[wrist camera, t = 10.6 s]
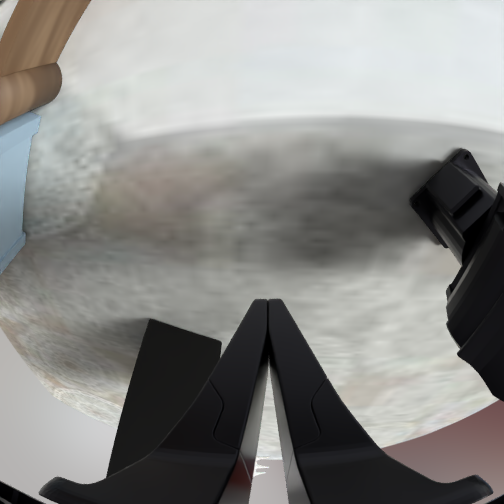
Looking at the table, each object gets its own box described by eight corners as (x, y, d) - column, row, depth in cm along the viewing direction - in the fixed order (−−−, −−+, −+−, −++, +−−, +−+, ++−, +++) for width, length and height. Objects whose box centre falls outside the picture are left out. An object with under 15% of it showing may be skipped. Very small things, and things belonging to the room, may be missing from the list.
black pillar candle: (201, 374, 36) (175, 596, 14) (139, 354, 34) (91, 578, 12) (222, 340, 32) (197, 616, 9) (149, 316, 30) (86, 596, 7)
